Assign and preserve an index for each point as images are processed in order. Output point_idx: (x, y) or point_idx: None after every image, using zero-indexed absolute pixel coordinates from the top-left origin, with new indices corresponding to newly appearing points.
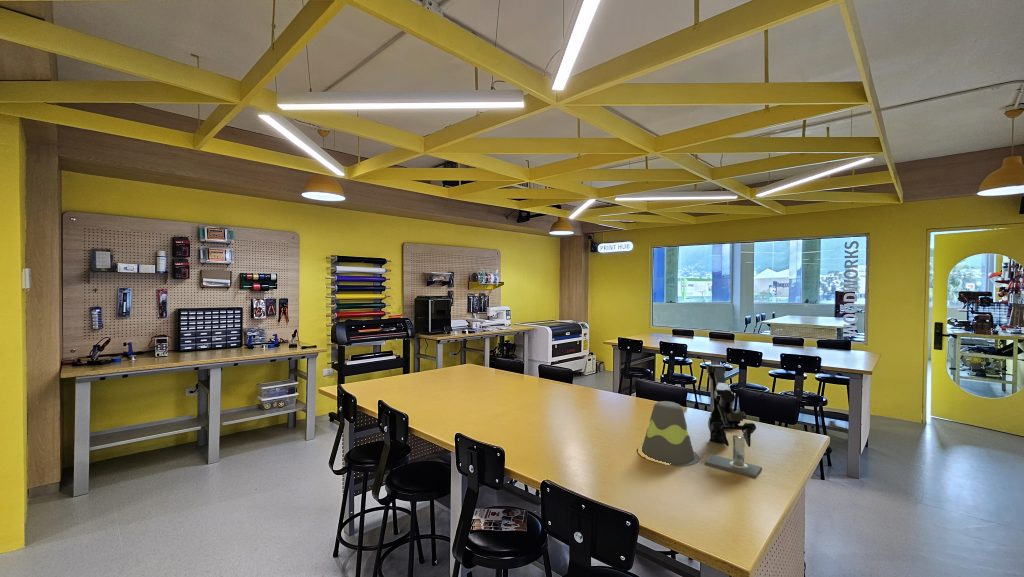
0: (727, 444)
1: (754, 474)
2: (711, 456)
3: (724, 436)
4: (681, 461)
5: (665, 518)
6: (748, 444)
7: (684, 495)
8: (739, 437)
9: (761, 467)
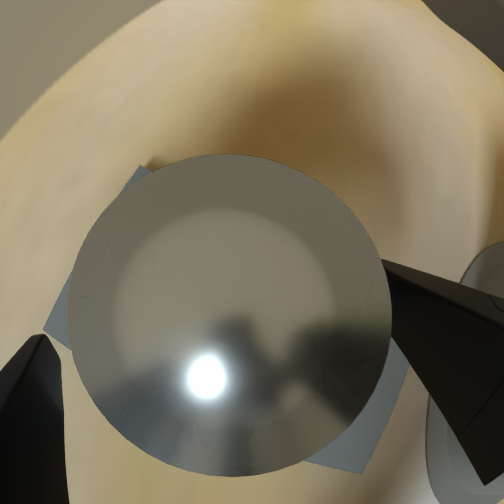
0: (391, 263)
1: (144, 169)
2: (378, 433)
3: (495, 307)
4: (497, 274)
5: (413, 6)
6: (48, 368)
7: (418, 48)
8: (222, 257)
9: (47, 322)
